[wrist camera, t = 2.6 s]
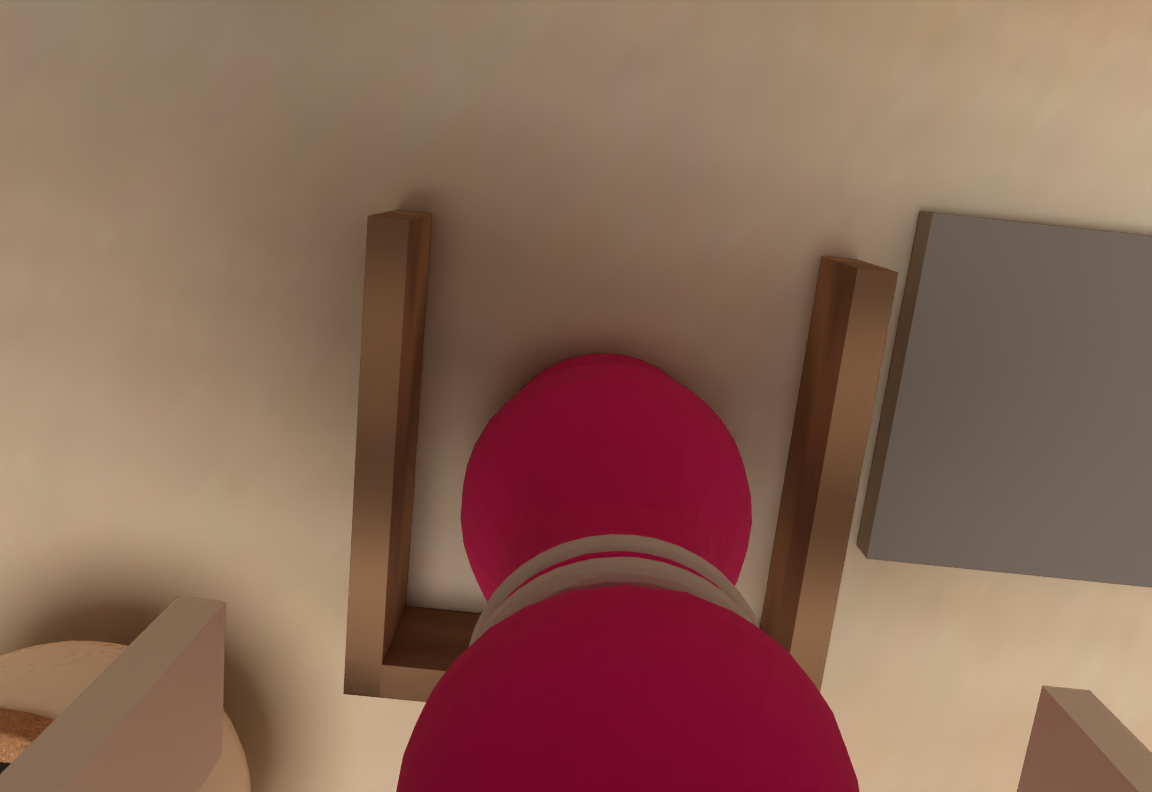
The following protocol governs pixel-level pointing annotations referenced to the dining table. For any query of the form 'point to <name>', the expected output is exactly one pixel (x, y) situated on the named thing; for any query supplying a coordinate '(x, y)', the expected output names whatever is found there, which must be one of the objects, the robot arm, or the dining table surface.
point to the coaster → (1018, 405)
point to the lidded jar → (57, 677)
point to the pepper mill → (616, 608)
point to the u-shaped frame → (388, 452)
